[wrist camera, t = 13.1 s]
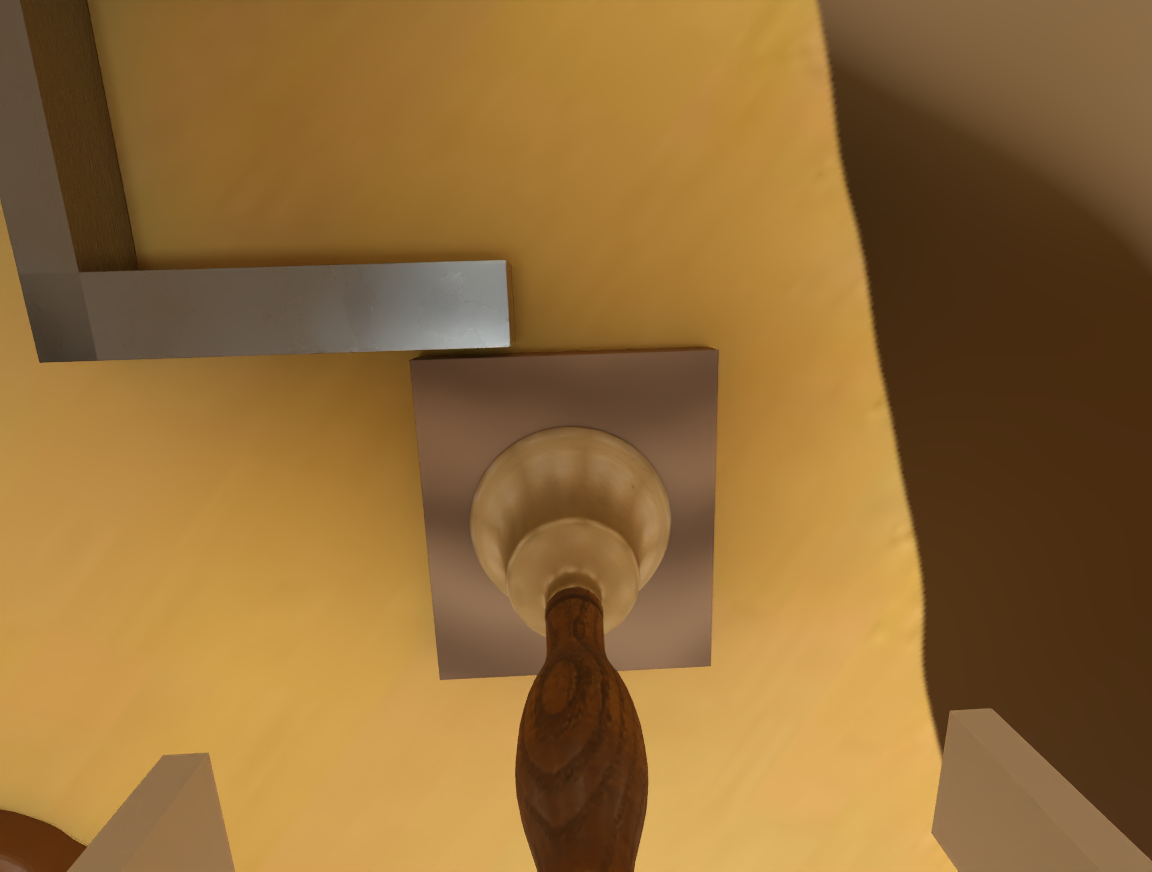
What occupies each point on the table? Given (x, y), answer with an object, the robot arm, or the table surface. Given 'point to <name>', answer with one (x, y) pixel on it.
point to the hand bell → (575, 632)
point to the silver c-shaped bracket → (184, 296)
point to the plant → (34, 845)
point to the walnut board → (551, 400)
